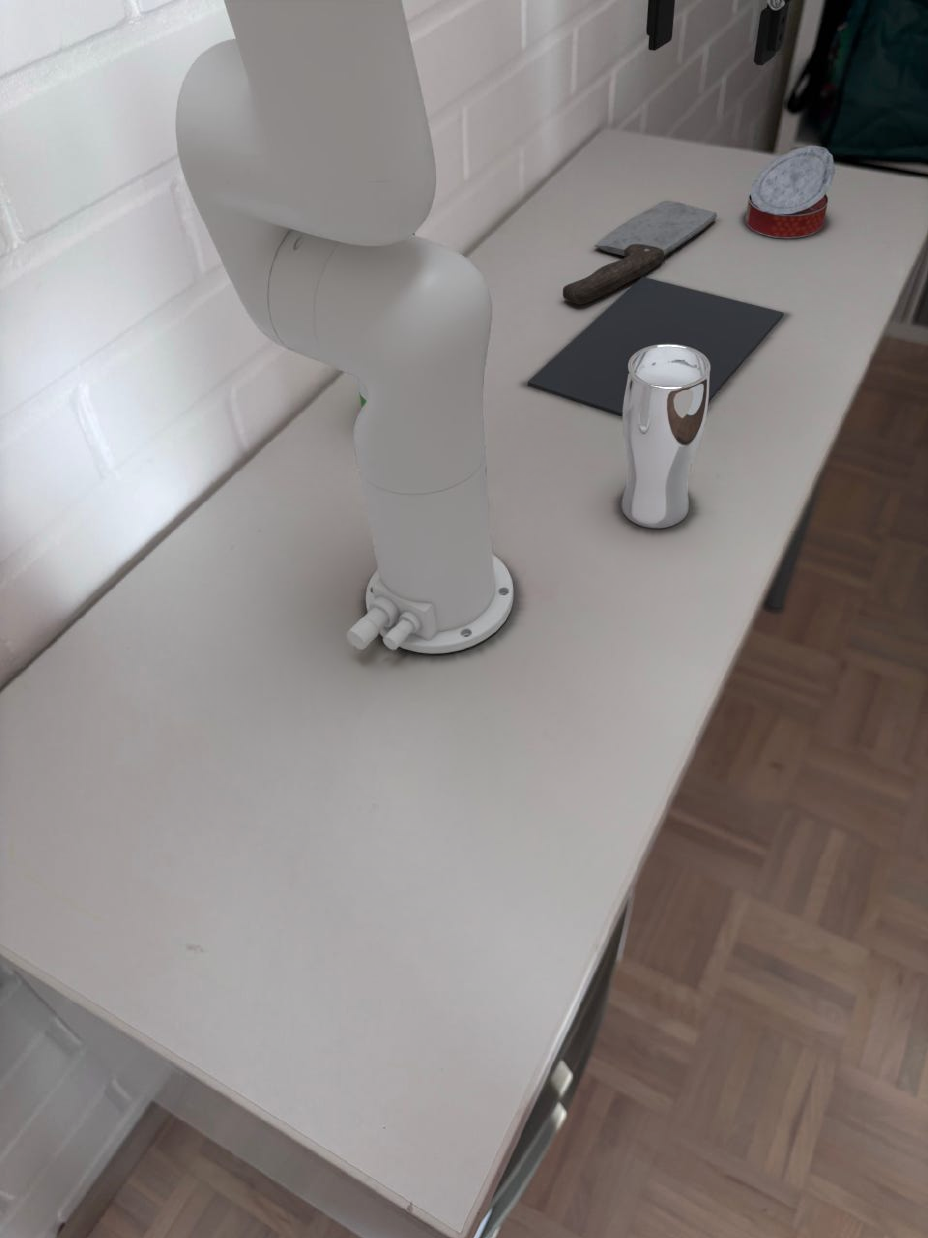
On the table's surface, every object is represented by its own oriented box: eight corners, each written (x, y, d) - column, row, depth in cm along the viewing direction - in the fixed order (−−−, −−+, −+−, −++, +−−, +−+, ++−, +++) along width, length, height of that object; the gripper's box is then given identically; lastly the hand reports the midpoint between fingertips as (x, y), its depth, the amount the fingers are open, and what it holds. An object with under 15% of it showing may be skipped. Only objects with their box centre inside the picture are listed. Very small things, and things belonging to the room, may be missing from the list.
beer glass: (653, 543, 84) (668, 400, 73) (601, 504, 88) (607, 363, 77) (709, 509, 87) (731, 366, 76) (656, 473, 91) (669, 332, 80)
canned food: (816, 262, 125) (847, 211, 115) (740, 258, 125) (765, 207, 115) (811, 189, 128) (841, 134, 118) (737, 185, 128) (761, 130, 118)
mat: (679, 434, 94) (679, 431, 94) (527, 385, 102) (527, 381, 102) (783, 315, 108) (783, 312, 108) (642, 279, 116) (642, 276, 116)
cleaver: (596, 315, 111) (597, 298, 109) (530, 292, 115) (529, 276, 114) (722, 219, 125) (724, 203, 124) (658, 203, 130) (660, 187, 129)
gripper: (609, -205, 70) (600, 53, 83) (839, -203, 63) (791, 80, 75) (656, -221, 74) (641, 28, 87) (878, -221, 67) (826, 52, 79)
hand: (710, 52), depth 81 cm, fingers open, 9 cm apart
